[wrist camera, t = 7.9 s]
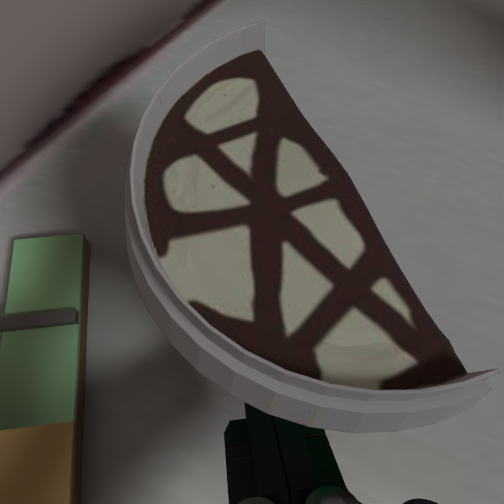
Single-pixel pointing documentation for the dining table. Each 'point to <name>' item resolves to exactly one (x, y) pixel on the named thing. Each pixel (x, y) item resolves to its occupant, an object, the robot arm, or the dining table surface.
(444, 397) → the food container
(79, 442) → the strip
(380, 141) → the dining table surface
